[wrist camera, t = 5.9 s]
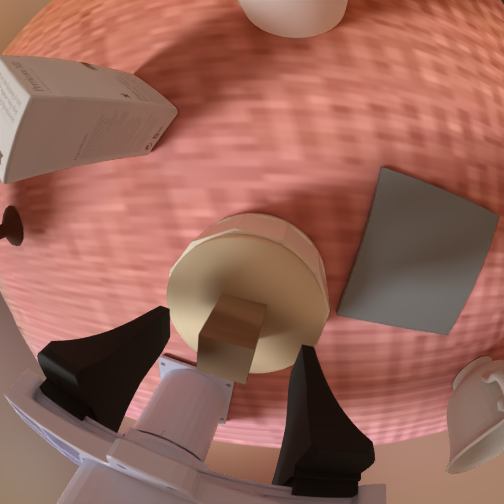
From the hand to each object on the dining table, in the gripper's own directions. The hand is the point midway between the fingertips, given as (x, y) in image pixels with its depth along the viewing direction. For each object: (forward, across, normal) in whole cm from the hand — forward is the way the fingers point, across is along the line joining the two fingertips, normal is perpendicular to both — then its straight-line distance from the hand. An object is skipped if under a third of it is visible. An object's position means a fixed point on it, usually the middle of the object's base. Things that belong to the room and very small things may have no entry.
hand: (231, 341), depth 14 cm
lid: (+3, 0, 0) cm, 3 cm away
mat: (+7, -12, -4) cm, 15 cm away
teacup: (+7, -25, +5) cm, 26 cm away
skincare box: (+7, +11, -11) cm, 17 cm away
